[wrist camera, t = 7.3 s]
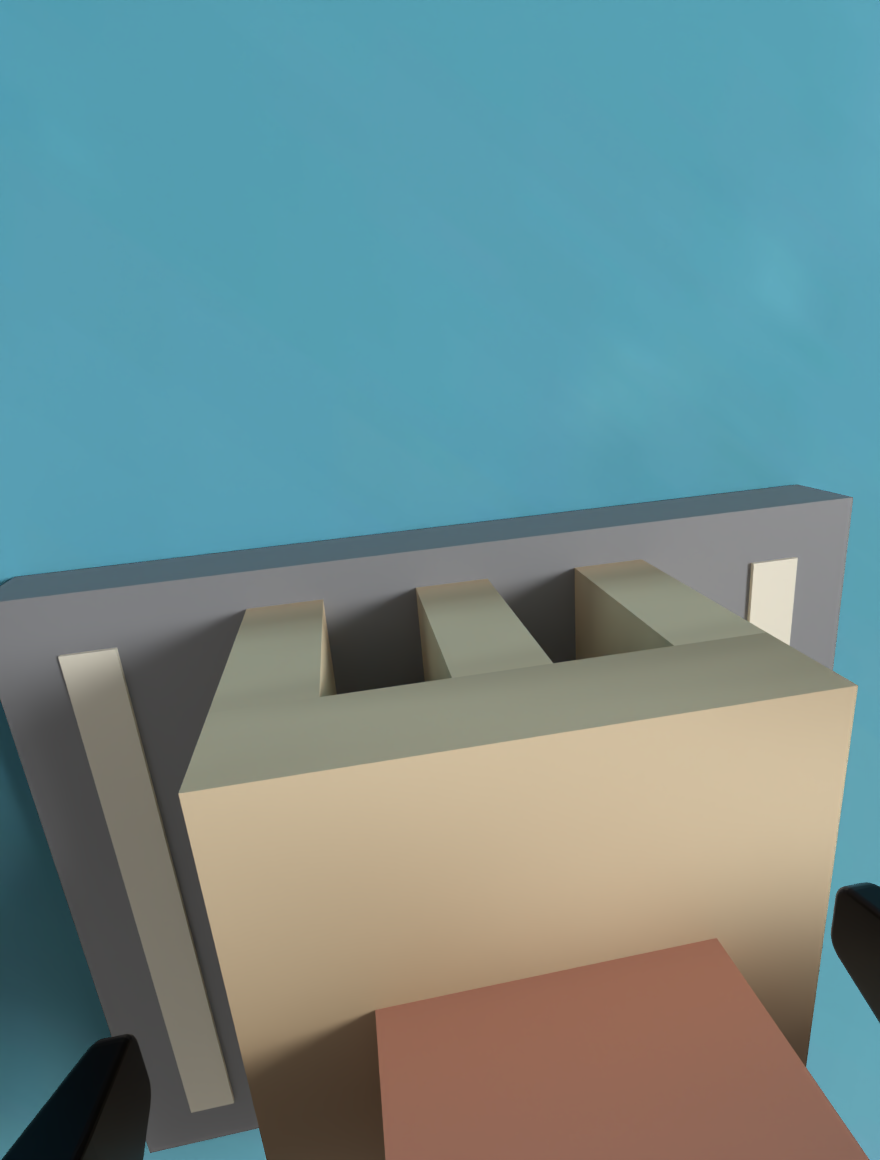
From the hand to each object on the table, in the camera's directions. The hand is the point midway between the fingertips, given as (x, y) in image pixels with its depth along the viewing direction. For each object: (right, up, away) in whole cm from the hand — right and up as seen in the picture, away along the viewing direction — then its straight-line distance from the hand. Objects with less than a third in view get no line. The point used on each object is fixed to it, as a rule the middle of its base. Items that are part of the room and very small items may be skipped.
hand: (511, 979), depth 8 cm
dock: (-1, +1, +3) cm, 4 cm away
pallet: (0, +1, +2) cm, 2 cm away
